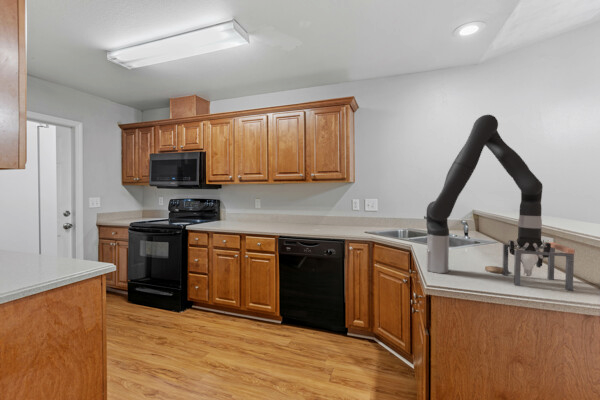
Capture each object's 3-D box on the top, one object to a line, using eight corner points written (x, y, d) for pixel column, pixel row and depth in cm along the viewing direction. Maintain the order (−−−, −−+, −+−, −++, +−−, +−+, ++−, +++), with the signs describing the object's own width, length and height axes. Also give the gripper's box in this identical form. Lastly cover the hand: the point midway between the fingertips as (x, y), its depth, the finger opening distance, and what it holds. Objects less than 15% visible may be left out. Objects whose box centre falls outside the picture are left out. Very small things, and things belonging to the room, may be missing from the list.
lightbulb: (541, 278, 113) (542, 251, 112) (523, 277, 114) (524, 251, 114) (531, 274, 119) (532, 248, 119) (515, 273, 120) (515, 247, 120)
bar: (567, 253, 106) (567, 249, 105) (547, 245, 120) (547, 242, 120) (574, 253, 105) (574, 249, 105) (553, 246, 120) (553, 242, 120)
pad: (487, 272, 129) (487, 270, 129) (482, 267, 138) (482, 265, 137) (511, 274, 126) (511, 272, 126) (504, 269, 134) (504, 267, 134)
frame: (515, 285, 112) (516, 250, 111) (502, 274, 127) (503, 243, 126) (572, 291, 105) (573, 254, 105) (552, 278, 120) (552, 246, 120)
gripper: (512, 226, 115) (510, 266, 116) (556, 228, 110) (554, 270, 110) (506, 224, 122) (504, 262, 123) (547, 226, 117) (545, 265, 117)
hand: (528, 266), depth 116 cm, fingers closed on lightbulb, 6 cm apart
